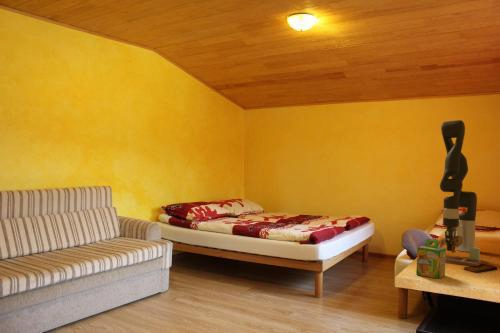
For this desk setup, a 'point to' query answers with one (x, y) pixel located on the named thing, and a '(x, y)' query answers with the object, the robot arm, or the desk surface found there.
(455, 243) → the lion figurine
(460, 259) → the board
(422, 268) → the chalk box
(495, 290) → the desk surface
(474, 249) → the block
